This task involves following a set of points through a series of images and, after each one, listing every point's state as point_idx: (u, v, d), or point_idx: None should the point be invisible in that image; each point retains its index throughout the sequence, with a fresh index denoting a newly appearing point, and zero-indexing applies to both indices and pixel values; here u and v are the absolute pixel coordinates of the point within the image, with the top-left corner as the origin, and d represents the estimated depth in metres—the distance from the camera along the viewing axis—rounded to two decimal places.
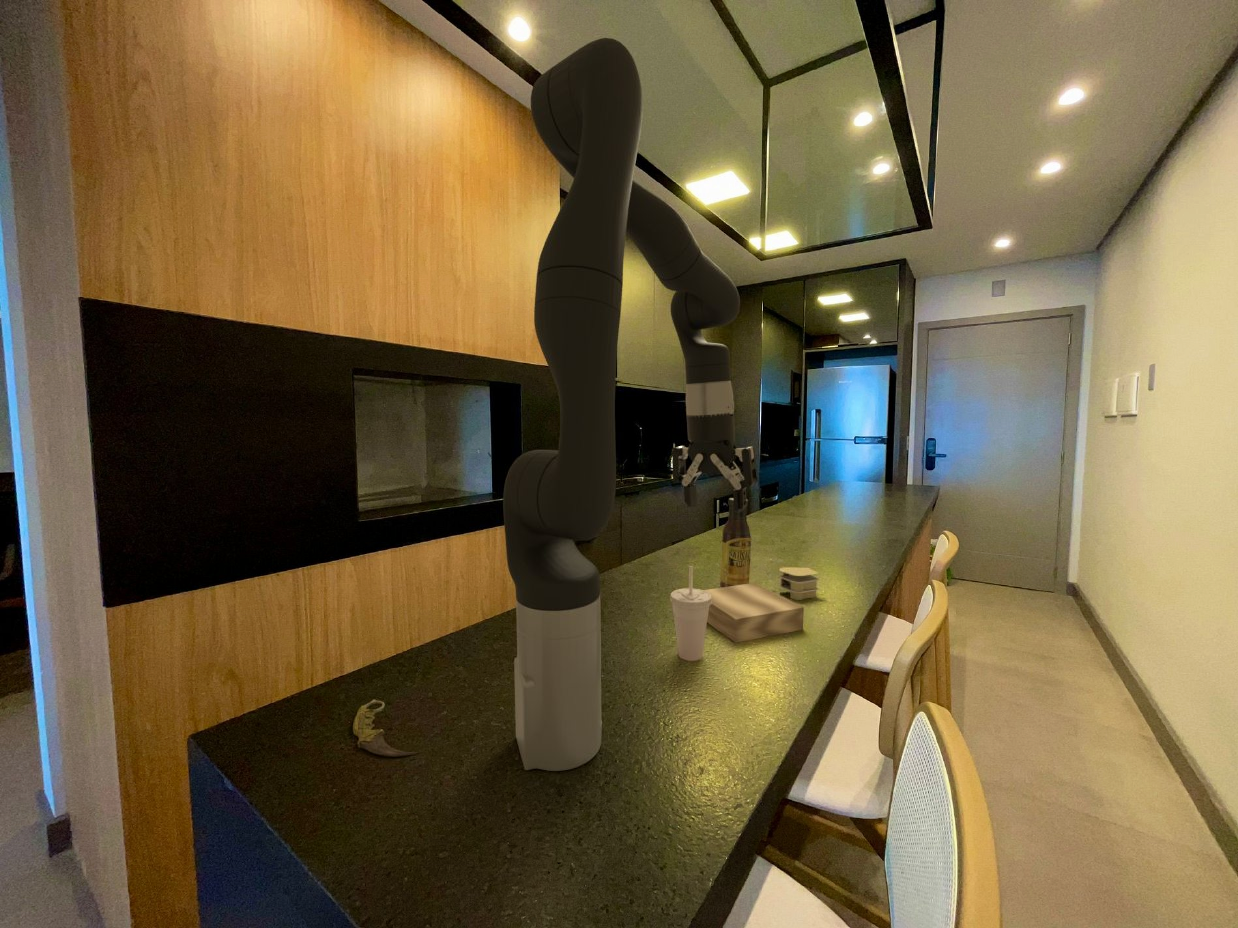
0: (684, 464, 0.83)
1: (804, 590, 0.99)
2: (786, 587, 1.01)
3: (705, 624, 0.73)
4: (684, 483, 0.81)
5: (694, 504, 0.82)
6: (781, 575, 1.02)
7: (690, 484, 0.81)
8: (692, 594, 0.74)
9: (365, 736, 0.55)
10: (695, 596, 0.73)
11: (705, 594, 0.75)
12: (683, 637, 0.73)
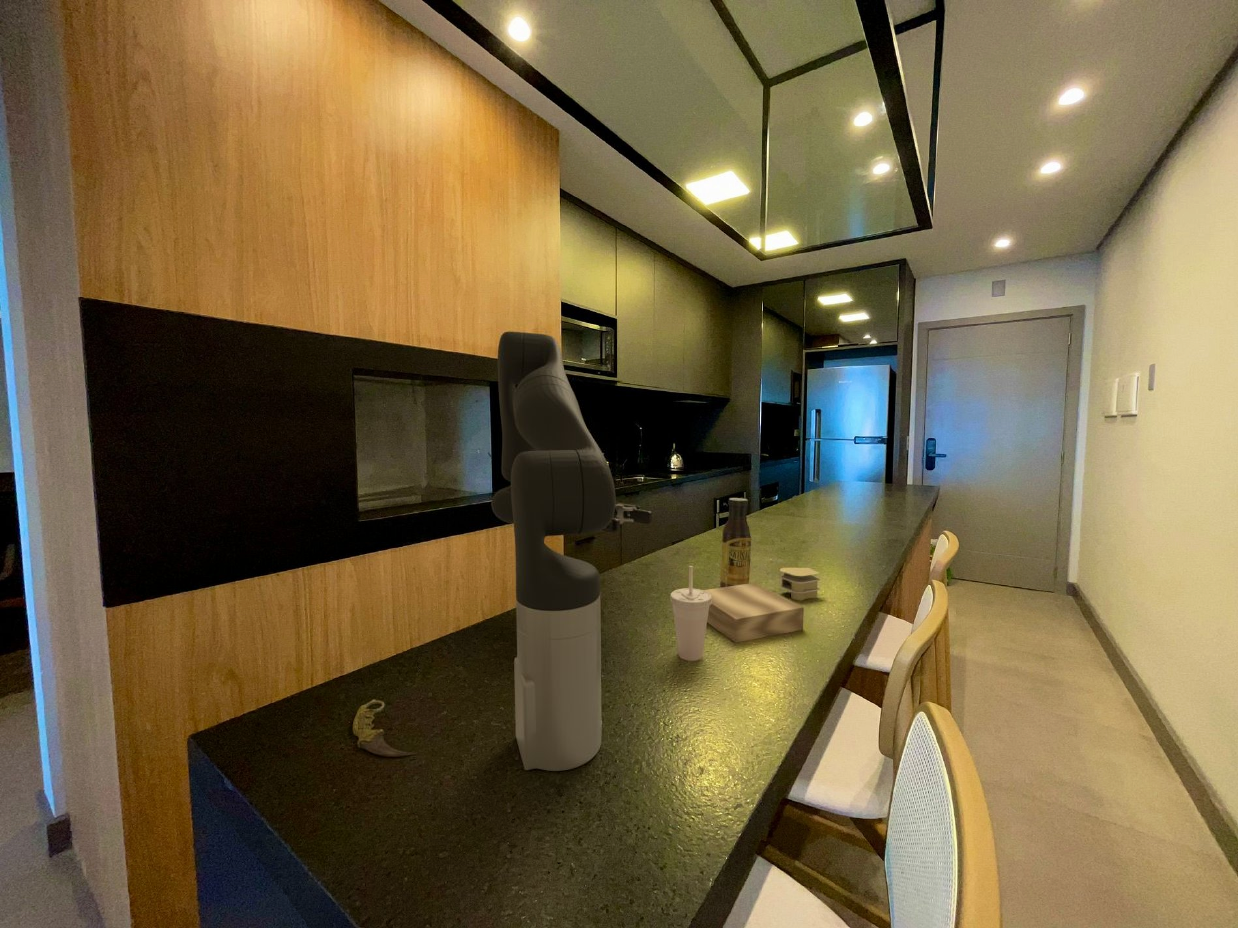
0: None
1: (805, 590, 0.99)
2: (787, 587, 1.00)
3: (705, 624, 0.73)
4: None
5: None
6: (782, 575, 1.02)
7: None
8: (692, 594, 0.74)
9: (365, 736, 0.55)
10: (695, 596, 0.73)
11: (705, 594, 0.75)
12: (683, 637, 0.73)
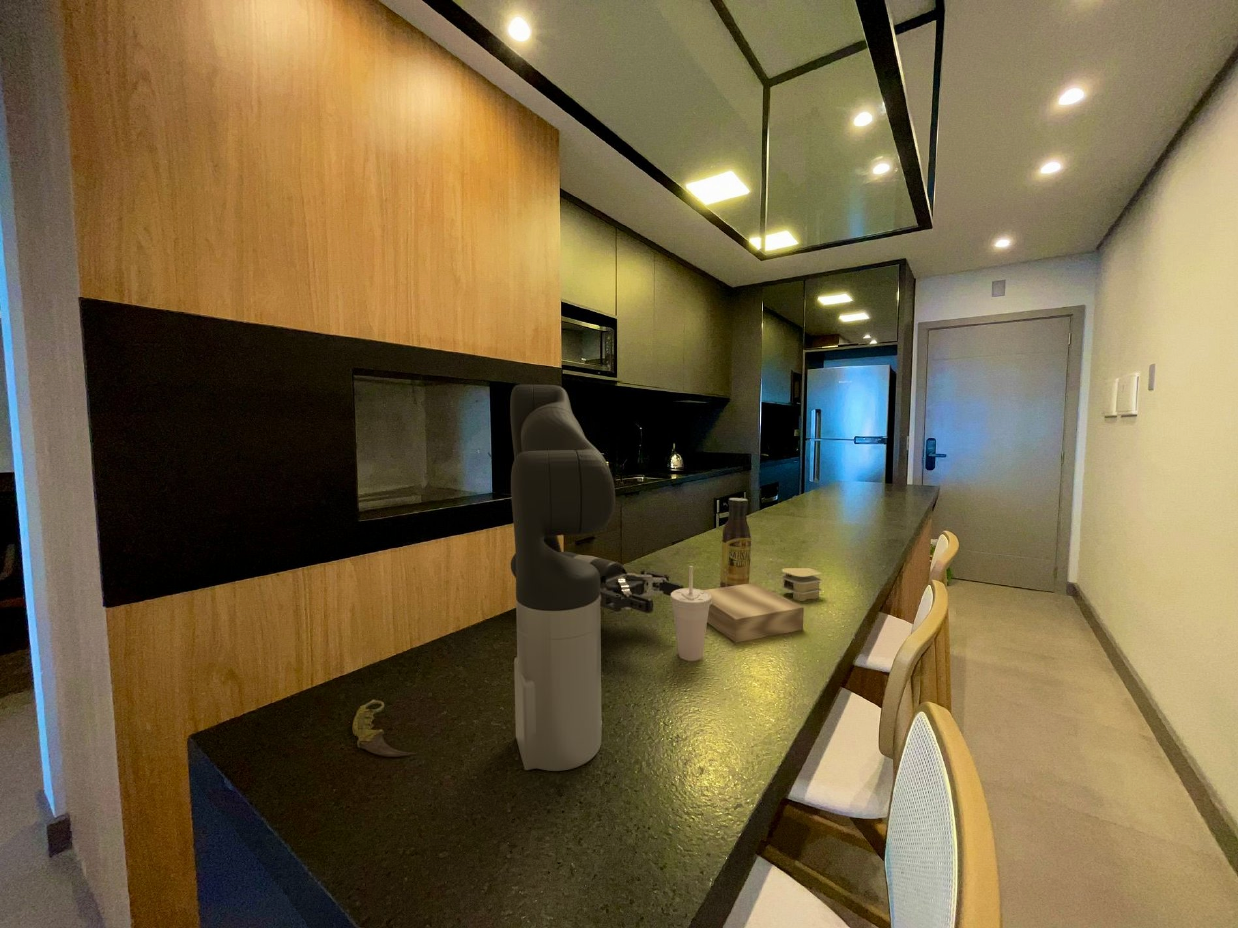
0: None
1: (807, 591, 0.98)
2: (789, 588, 1.00)
3: (705, 624, 0.73)
4: (628, 592, 0.76)
5: None
6: (784, 576, 1.01)
7: None
8: (692, 594, 0.74)
9: (365, 736, 0.55)
10: (695, 596, 0.73)
11: (705, 594, 0.75)
12: (683, 637, 0.73)
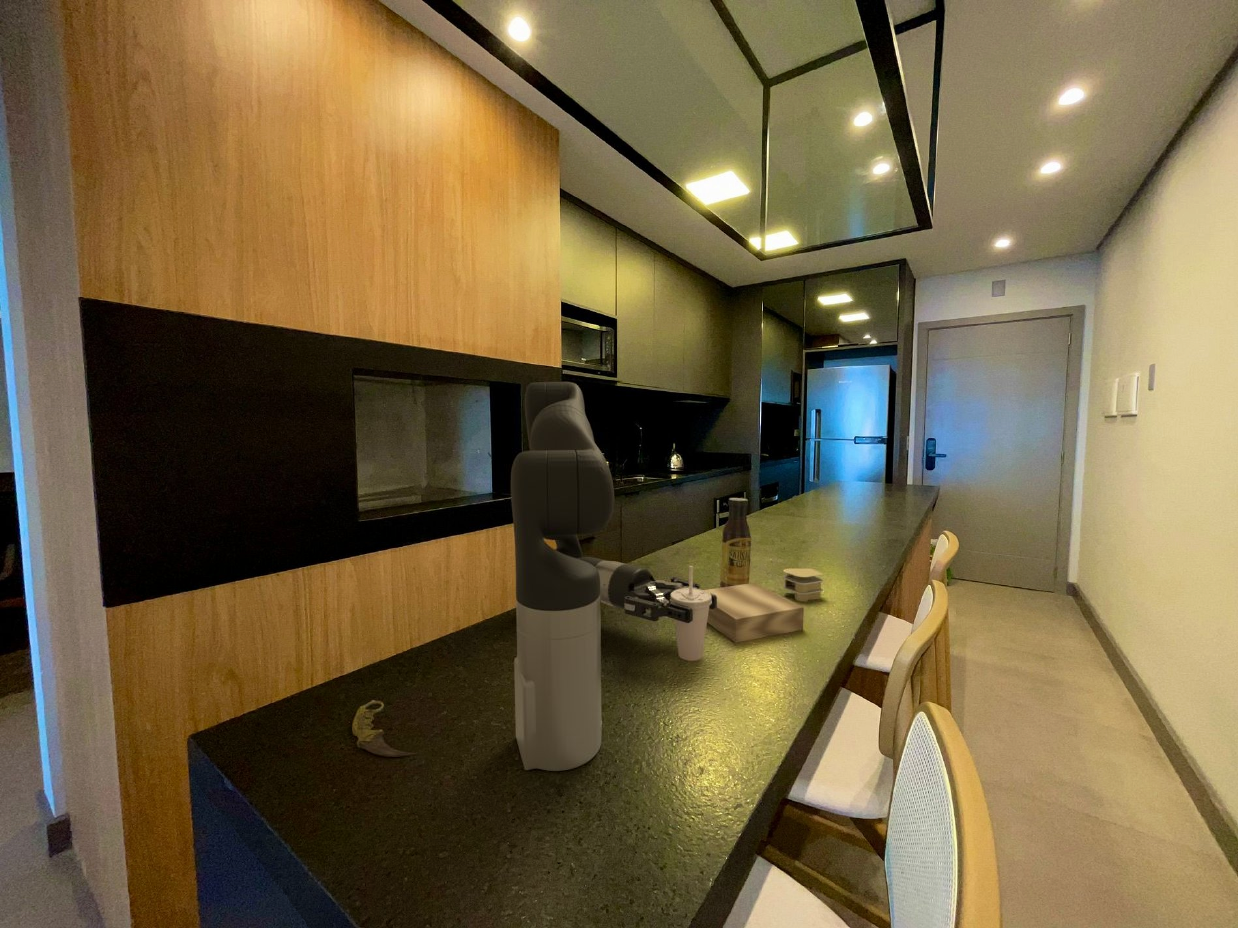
0: None
1: (809, 591, 0.98)
2: (790, 588, 1.00)
3: (705, 624, 0.73)
4: (665, 601, 0.73)
5: None
6: (785, 576, 1.01)
7: None
8: (692, 594, 0.74)
9: (365, 736, 0.55)
10: (695, 596, 0.73)
11: (705, 594, 0.75)
12: (683, 637, 0.73)
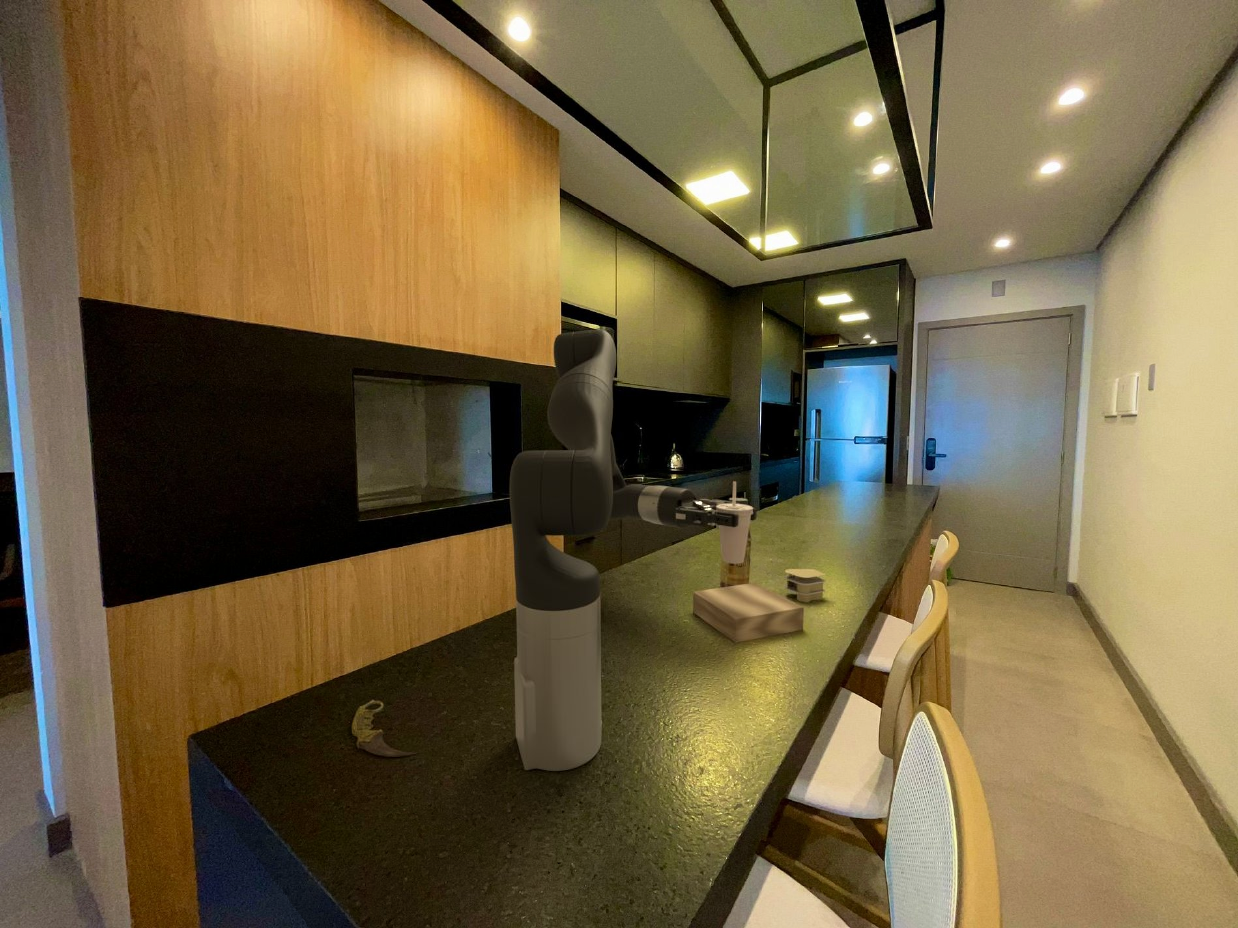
0: None
1: (811, 592, 0.98)
2: (793, 589, 0.99)
3: (747, 531, 0.83)
4: (713, 510, 0.82)
5: None
6: (787, 577, 1.01)
7: None
8: (735, 506, 0.84)
9: (364, 736, 0.55)
10: (738, 507, 0.83)
11: (747, 506, 0.85)
12: (727, 543, 0.83)
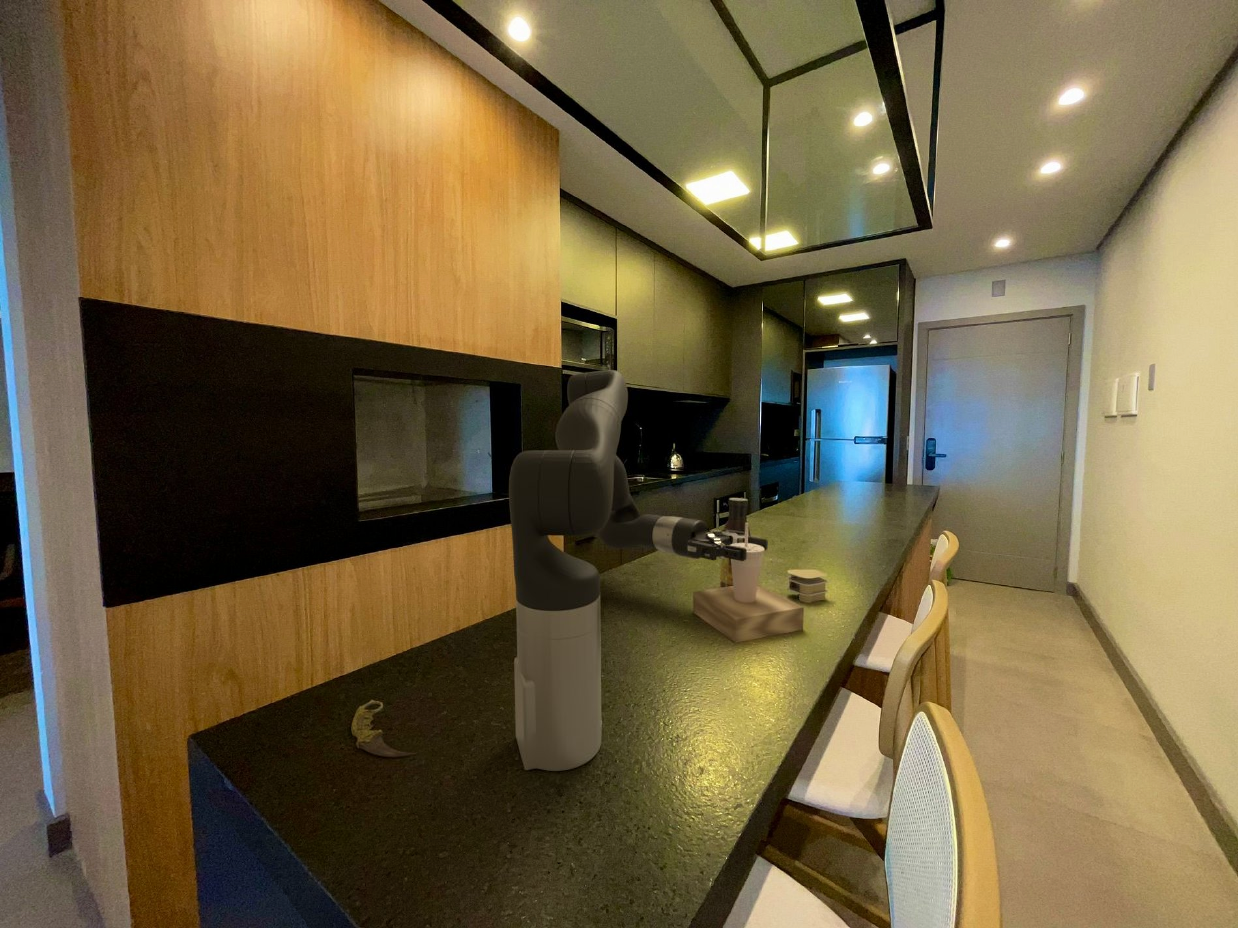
0: None
1: (813, 592, 0.97)
2: (795, 590, 0.99)
3: (759, 571, 0.86)
4: (721, 544, 0.85)
5: None
6: (789, 577, 1.00)
7: None
8: (748, 546, 0.87)
9: (364, 737, 0.55)
10: (751, 548, 0.86)
11: (758, 546, 0.88)
12: (740, 582, 0.86)
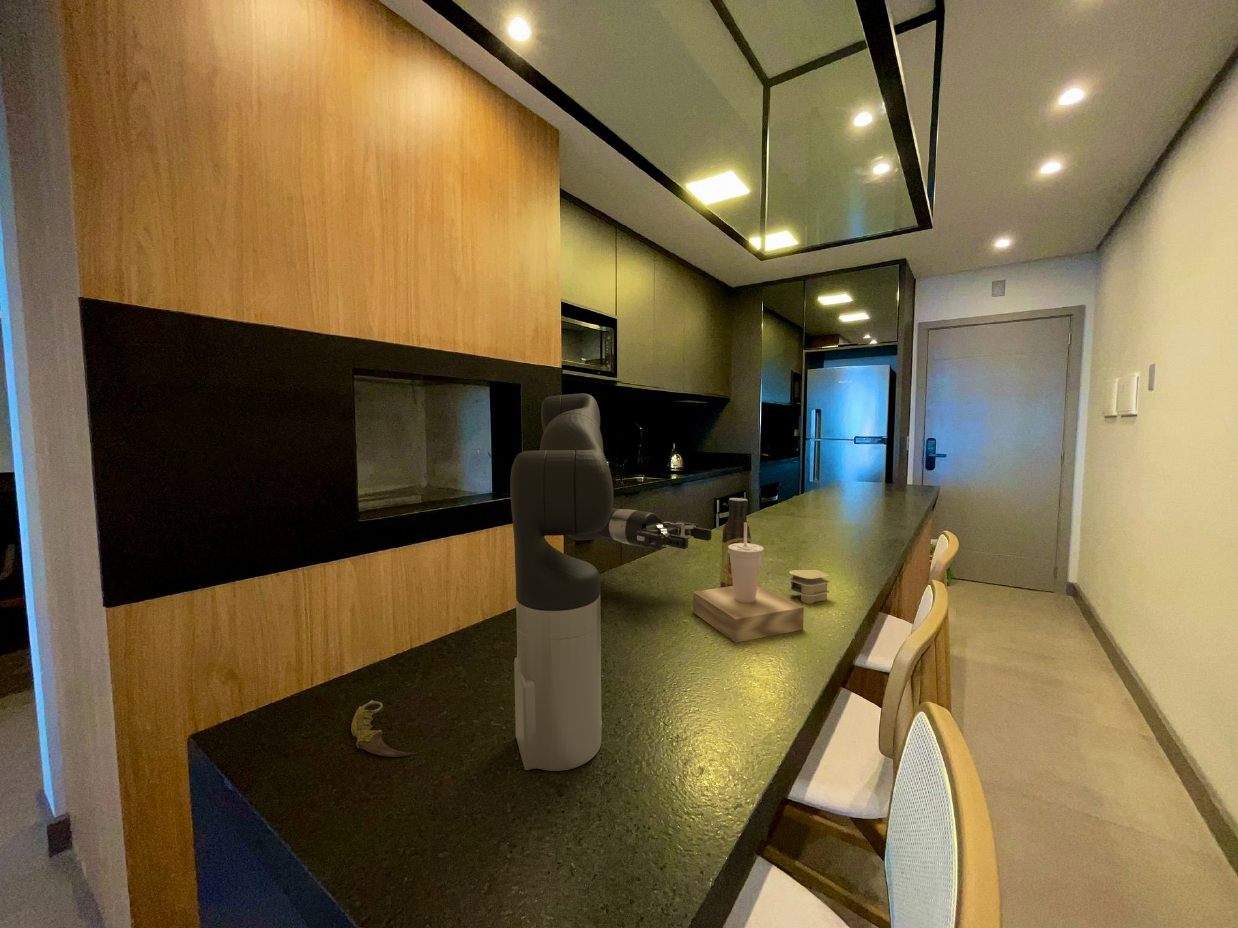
0: None
1: (815, 593, 0.97)
2: (797, 590, 0.99)
3: (758, 571, 0.86)
4: (667, 533, 0.93)
5: None
6: (791, 578, 1.00)
7: None
8: (747, 546, 0.87)
9: (364, 736, 0.55)
10: (750, 547, 0.86)
11: (757, 546, 0.88)
12: (739, 582, 0.86)
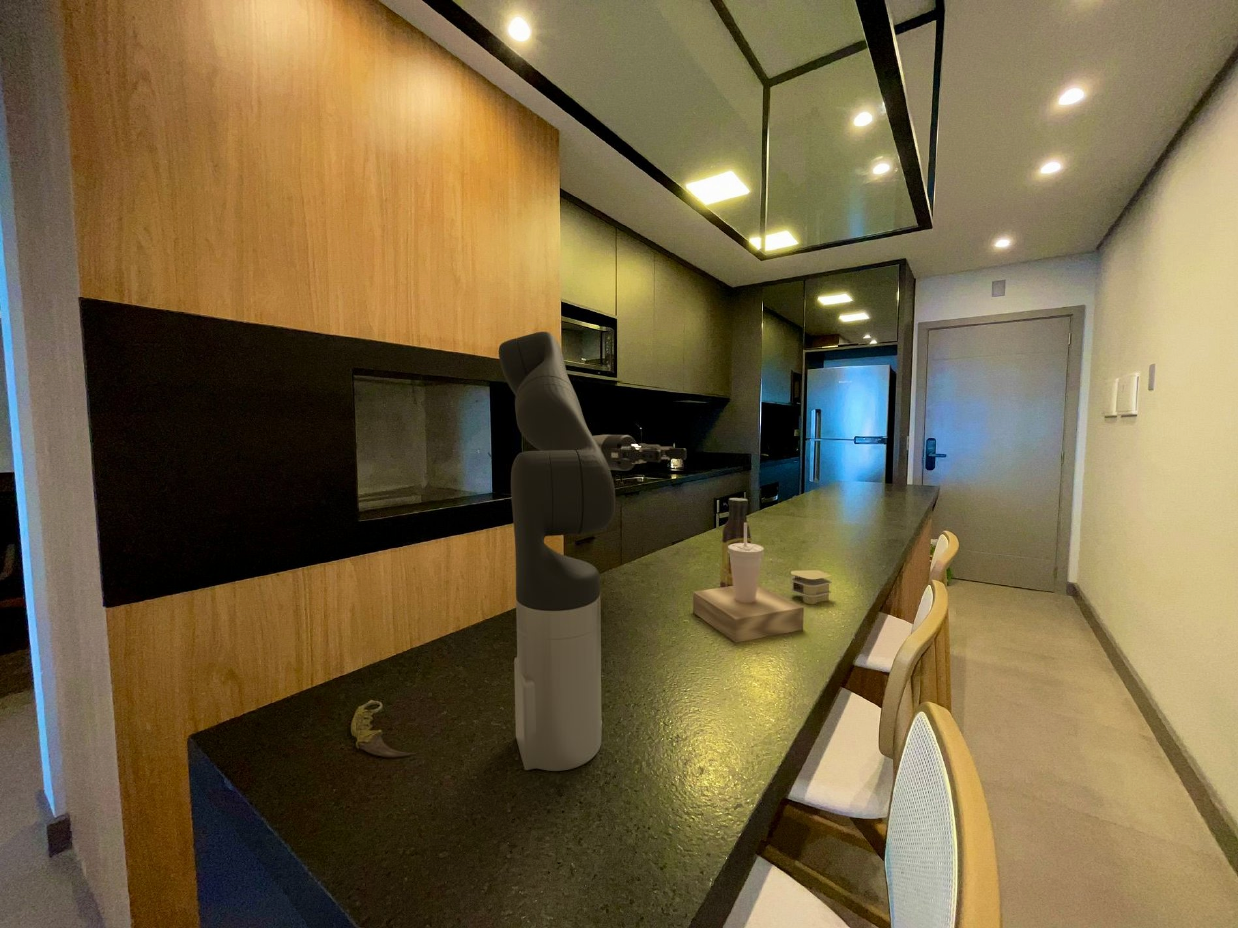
0: None
1: (817, 593, 0.97)
2: (798, 591, 0.98)
3: (758, 571, 0.86)
4: (640, 448, 0.92)
5: None
6: (793, 578, 1.00)
7: None
8: (747, 546, 0.87)
9: (363, 737, 0.55)
10: (750, 548, 0.86)
11: (757, 546, 0.88)
12: (739, 583, 0.86)
